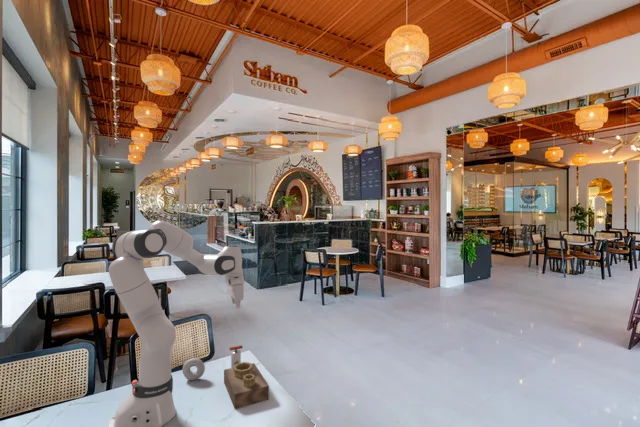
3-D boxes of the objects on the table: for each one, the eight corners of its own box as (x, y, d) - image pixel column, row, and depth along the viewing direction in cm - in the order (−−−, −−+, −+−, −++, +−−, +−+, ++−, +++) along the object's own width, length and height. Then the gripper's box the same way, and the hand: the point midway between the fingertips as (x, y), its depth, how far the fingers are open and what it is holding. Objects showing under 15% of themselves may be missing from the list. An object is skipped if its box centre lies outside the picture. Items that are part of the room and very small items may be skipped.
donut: (181, 382, 149) (181, 360, 149) (183, 378, 152) (183, 357, 152) (204, 381, 150) (204, 359, 150) (205, 377, 154) (205, 356, 154)
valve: (230, 376, 155) (230, 349, 155) (228, 371, 159) (228, 346, 159) (243, 373, 157) (243, 347, 157) (240, 368, 162) (240, 343, 162)
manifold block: (234, 409, 129) (234, 386, 129) (224, 382, 149) (224, 363, 149) (268, 399, 136) (268, 378, 136) (254, 375, 155) (254, 356, 155)
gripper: (224, 275, 169) (225, 302, 170) (231, 282, 151) (233, 312, 151) (236, 273, 172) (238, 299, 172) (245, 280, 154) (247, 309, 154)
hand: (236, 305), depth 162 cm, fingers open, 8 cm apart
